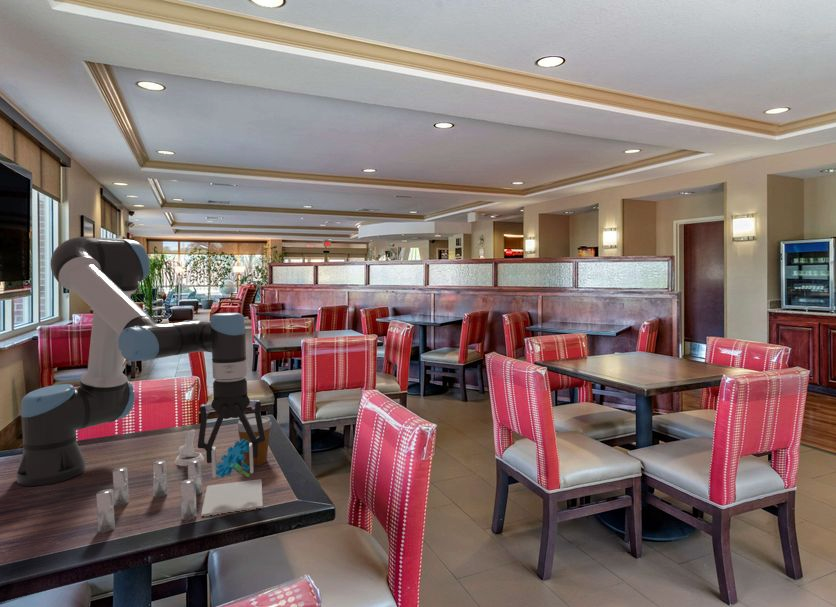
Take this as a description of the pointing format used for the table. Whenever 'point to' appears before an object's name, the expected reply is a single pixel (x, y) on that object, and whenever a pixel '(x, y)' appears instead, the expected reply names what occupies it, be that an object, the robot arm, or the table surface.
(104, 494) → the spacer posts
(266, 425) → the disposable coffee cup
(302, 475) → the table surface
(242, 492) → the rubber mat
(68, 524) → the table surface
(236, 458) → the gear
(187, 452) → the hook
